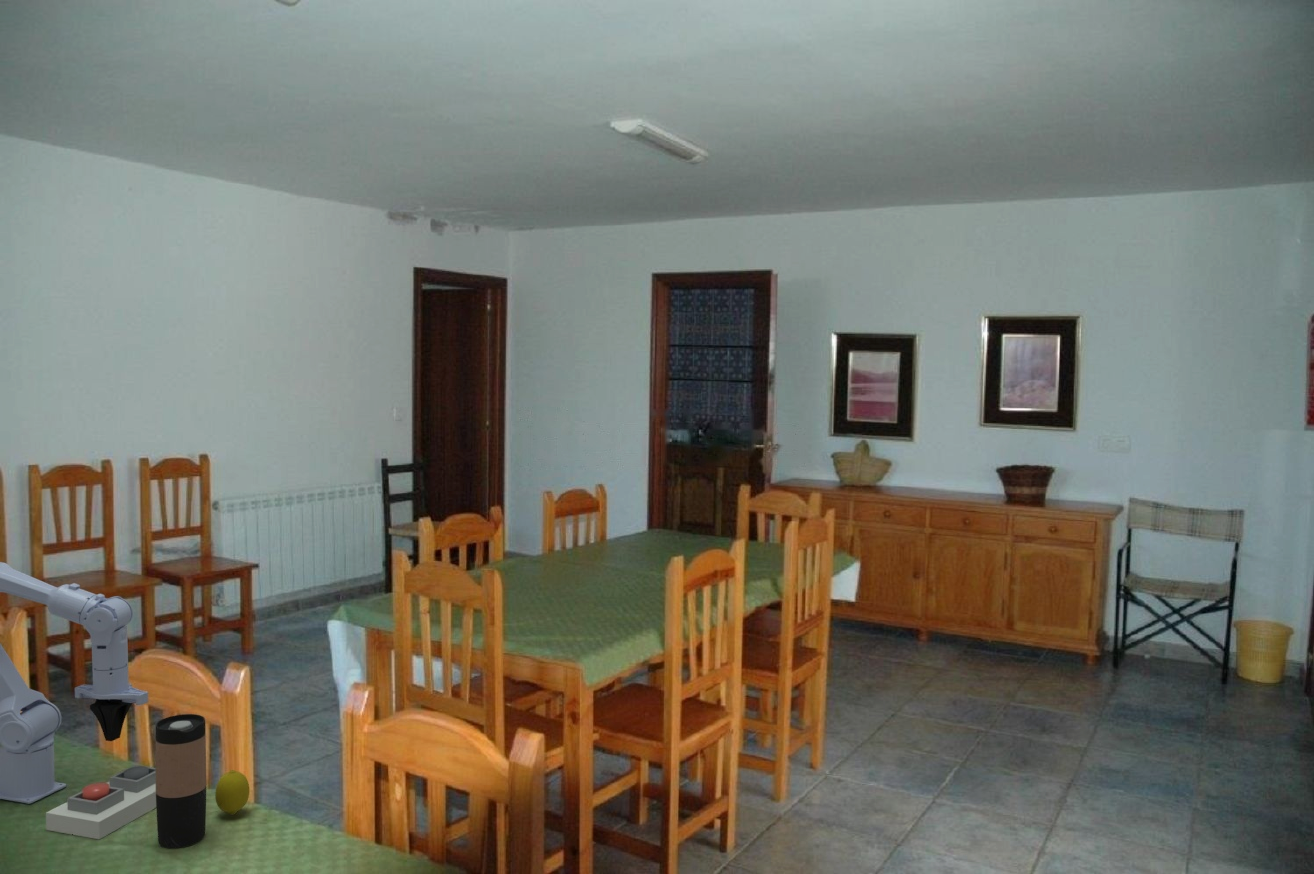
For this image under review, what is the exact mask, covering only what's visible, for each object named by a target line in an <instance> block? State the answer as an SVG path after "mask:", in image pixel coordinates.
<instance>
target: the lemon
mask: <svg viewBox="0 0 1314 874" xmlns="http://www.w3.org/2000/svg"><path fill="white" fill-rule="evenodd" d="M216 783H217V784H216V787H215V795H214V796H215V798H214V799H215V803H216V806H217V807H218V808H219V809H220V810H221V811H223V812H224V813H228V814H230V815H235V814H236V813H237V812H238V811H241V809H243V808H244V807H245V806H246V805H247V803H248V802H249V801H248V800H249V797H250V784H249V782H248V778H247V777H246V775H245V774H243V772H239V771H236V770H234V769H231V770H229V772H226V773H225V774H223V775H222V776H221V777H220V778H219V780H218V781H217V782H216Z"/></svg>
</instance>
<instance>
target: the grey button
mask: <svg viewBox="0 0 1314 874" xmlns="http://www.w3.org/2000/svg"><path fill="white" fill-rule="evenodd" d="M145 766H146V765H140V766H137V767H132V766H131V767H132V768H130V767H128V768H129V769H128V768H126V769H127V770H126V769H124V770H125V771H124V770H123V771H124V778H127V779H133V780H138V779H140V778H142V777H144V776H146V775H148V774H149V768H148V767H149V766H147V767H145Z"/></svg>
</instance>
